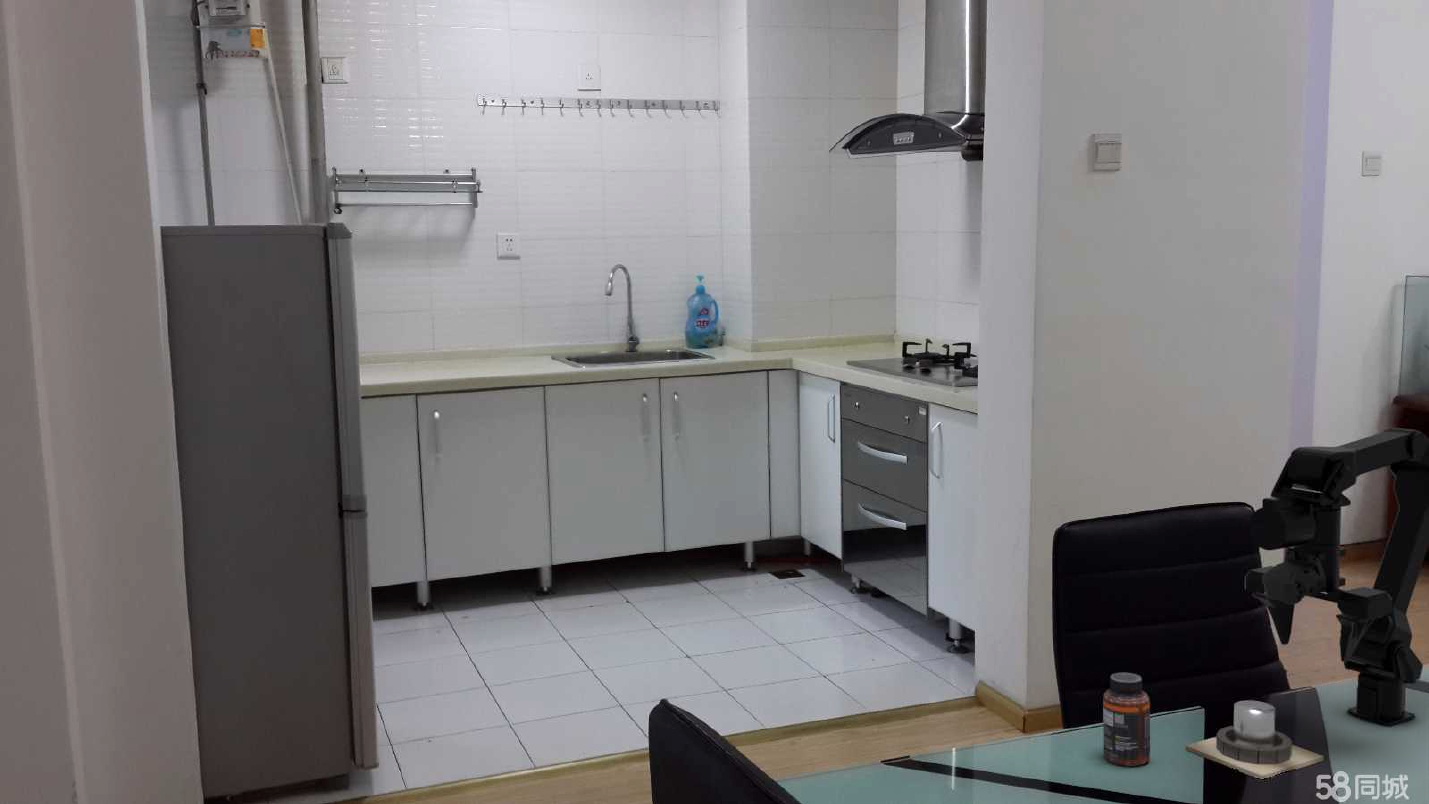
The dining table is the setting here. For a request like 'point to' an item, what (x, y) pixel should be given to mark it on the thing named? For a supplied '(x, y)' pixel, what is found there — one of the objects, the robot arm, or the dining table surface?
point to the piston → (1254, 724)
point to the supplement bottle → (1126, 721)
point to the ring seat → (1254, 754)
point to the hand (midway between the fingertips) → (1314, 652)
